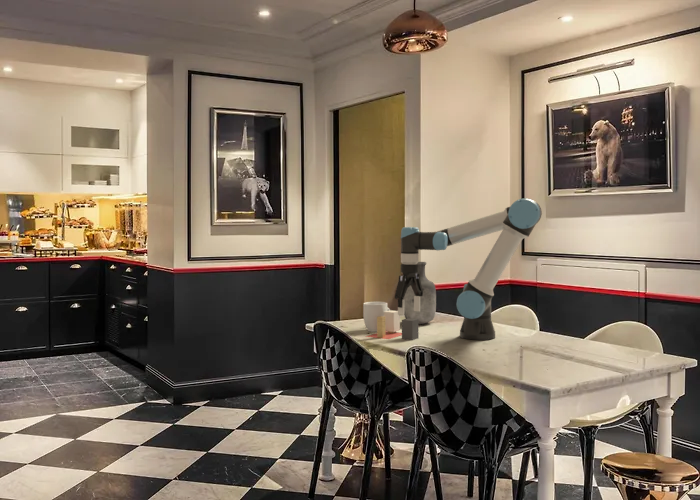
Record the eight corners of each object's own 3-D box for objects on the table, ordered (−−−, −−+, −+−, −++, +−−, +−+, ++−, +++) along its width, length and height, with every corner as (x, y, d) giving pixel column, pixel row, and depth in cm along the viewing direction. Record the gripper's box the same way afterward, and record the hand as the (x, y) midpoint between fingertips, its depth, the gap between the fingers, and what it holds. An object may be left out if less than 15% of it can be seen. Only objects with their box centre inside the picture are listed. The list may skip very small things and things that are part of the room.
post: (385, 337, 295) (385, 316, 295) (382, 338, 293) (382, 317, 293) (380, 336, 297) (380, 316, 296) (377, 337, 295) (377, 316, 294)
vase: (398, 321, 338) (397, 261, 337) (428, 320, 343) (427, 260, 341) (410, 327, 323) (410, 263, 321) (441, 324, 328) (441, 262, 326)
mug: (382, 327, 322) (382, 300, 321) (398, 330, 314) (398, 302, 313) (358, 331, 313) (358, 303, 312) (374, 334, 304) (374, 305, 303)
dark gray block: (418, 339, 292) (418, 319, 291) (412, 341, 288) (412, 320, 287) (407, 337, 295) (407, 318, 294) (401, 339, 291) (401, 319, 290)
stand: (408, 334, 304) (408, 311, 303) (388, 340, 290) (388, 316, 290) (385, 331, 311) (385, 309, 310) (365, 337, 297) (365, 314, 297)
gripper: (416, 261, 302) (415, 308, 303) (386, 264, 281) (386, 315, 283) (431, 262, 298) (430, 310, 299) (402, 265, 277) (401, 317, 278)
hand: (409, 313), depth 291 cm, fingers open, 13 cm apart
